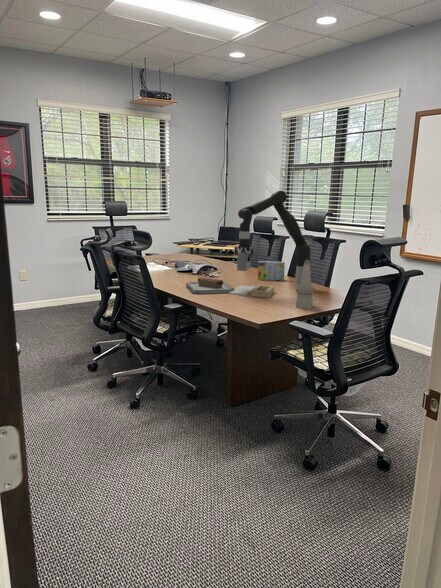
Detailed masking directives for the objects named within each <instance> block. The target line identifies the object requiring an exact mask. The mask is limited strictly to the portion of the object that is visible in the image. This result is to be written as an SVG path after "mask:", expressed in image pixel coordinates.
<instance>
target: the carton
mask: <svg viewBox="0 0 441 588" xmlns="http://www.w3.org/2000/svg"><path fill="white" fill-rule="evenodd" d="M254 287H255V288H254V289H253V290H252V291H251V292H250V293H251V294H250V295H251V297H257V298H259V297H260V298H268V299H269V298H270V297H271V296H272V295H274V293H275V290H276V289H275V285H266V284H258V285H257V286H254Z"/></svg>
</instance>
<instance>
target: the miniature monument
mask: <svg viewBox="0 0 441 588" xmlns="http://www.w3.org/2000/svg"><path fill="white" fill-rule="evenodd" d="M314 292H315V286H313V284H312V280H311V261H310V262H309V261H308V259H307V260H306V261H305V262H304V266H303V272H302V277H301V282H300V285H298V286H297V288H295V293H296V294H297V295H296V296H297V298H296V300H295V308H296V309H297V308H299V309H310V310H311V309H312V307H313V303H314V299H313V294H314Z"/></svg>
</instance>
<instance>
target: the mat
mask: <svg viewBox="0 0 441 588" xmlns="http://www.w3.org/2000/svg"><path fill="white" fill-rule="evenodd" d="M255 287H256V286H251V285H250V286H249V285H239V286H237V287H235V288H234V291H232V292H229V293H228V294H229V295H237V296H247V295H249V294H250V293H251V292H252V290H253V289H254V288H255Z"/></svg>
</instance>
